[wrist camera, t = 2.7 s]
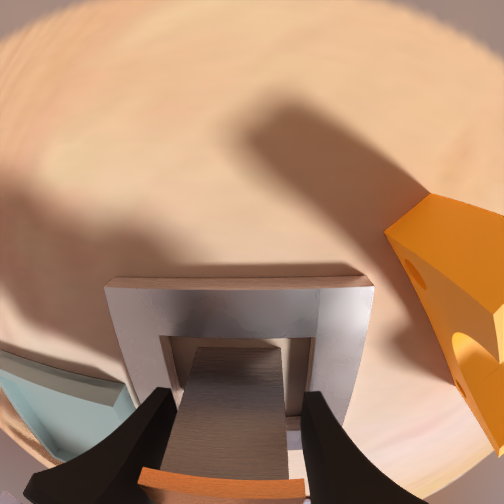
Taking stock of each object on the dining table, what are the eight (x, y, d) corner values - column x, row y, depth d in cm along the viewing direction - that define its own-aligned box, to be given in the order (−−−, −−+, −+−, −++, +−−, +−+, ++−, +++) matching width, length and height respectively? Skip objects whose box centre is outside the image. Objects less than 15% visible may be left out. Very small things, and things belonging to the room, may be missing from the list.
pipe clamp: (503, 340, 12) (557, 401, 5) (454, 384, 13) (498, 457, 6) (454, 169, 9) (579, 196, 3) (381, 230, 10) (493, 314, 4)
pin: (285, 406, 13) (291, 531, 6) (201, 404, 13) (174, 524, 6) (289, 341, 11) (305, 497, 5) (189, 340, 12) (137, 483, 5)
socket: (332, 433, 13) (335, 446, 12) (161, 429, 14) (157, 441, 13) (366, 275, 10) (374, 286, 9) (114, 277, 11) (103, 287, 10)
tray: (171, 478, 16) (167, 495, 15) (60, 445, 17) (53, 458, 15) (125, 384, 13) (112, 407, 11) (0, 349, 13) (-13, 362, 12)
